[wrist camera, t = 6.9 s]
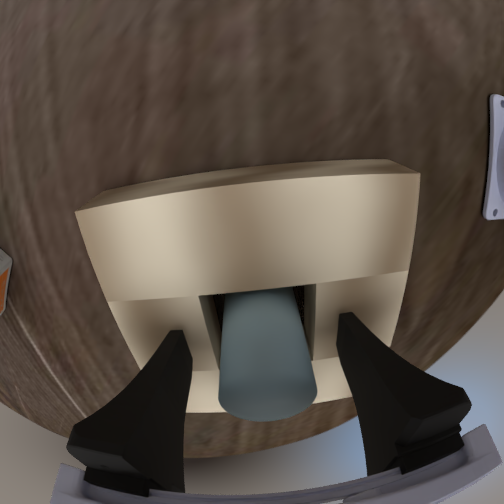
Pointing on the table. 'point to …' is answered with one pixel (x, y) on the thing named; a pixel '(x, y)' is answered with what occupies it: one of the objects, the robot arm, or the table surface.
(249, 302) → the peg
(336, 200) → the socket block
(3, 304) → the skincare box
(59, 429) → the table surface
